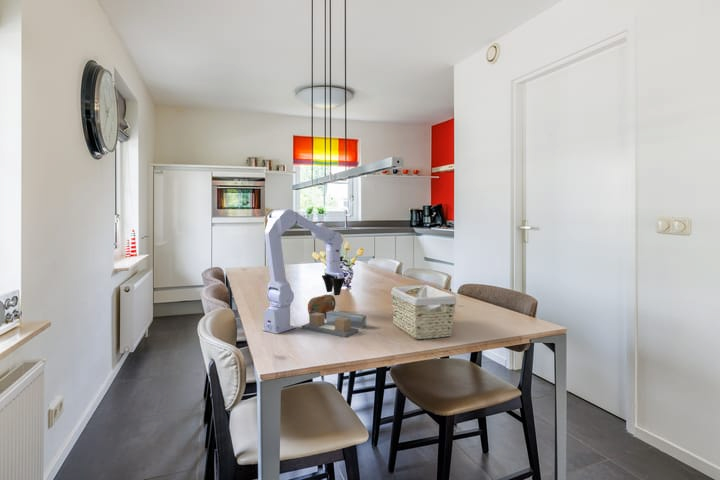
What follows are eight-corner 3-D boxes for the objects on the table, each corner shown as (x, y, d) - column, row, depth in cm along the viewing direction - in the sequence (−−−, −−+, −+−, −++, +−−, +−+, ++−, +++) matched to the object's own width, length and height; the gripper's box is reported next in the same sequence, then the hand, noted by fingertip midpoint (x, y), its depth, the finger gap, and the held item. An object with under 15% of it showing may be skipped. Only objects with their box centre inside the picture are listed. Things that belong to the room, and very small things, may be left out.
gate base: (345, 337, 136) (345, 323, 136) (301, 328, 148) (301, 314, 147) (358, 331, 143) (358, 318, 143) (315, 323, 154) (315, 310, 154)
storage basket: (389, 323, 155) (389, 285, 154) (427, 320, 159) (427, 283, 158) (414, 342, 132) (414, 298, 131) (457, 338, 136) (458, 295, 135)
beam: (361, 329, 147) (361, 317, 146) (326, 323, 155) (326, 312, 155) (366, 327, 150) (366, 315, 150) (331, 321, 158) (331, 310, 158)
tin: (311, 319, 160) (311, 299, 159) (306, 318, 162) (306, 298, 161) (336, 312, 172) (336, 293, 171) (330, 311, 174) (330, 292, 173)
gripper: (349, 262, 158) (349, 295, 159) (334, 258, 171) (334, 289, 172) (333, 262, 155) (333, 297, 156) (319, 259, 168) (319, 291, 168)
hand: (333, 293), depth 163 cm, fingers open, 7 cm apart
